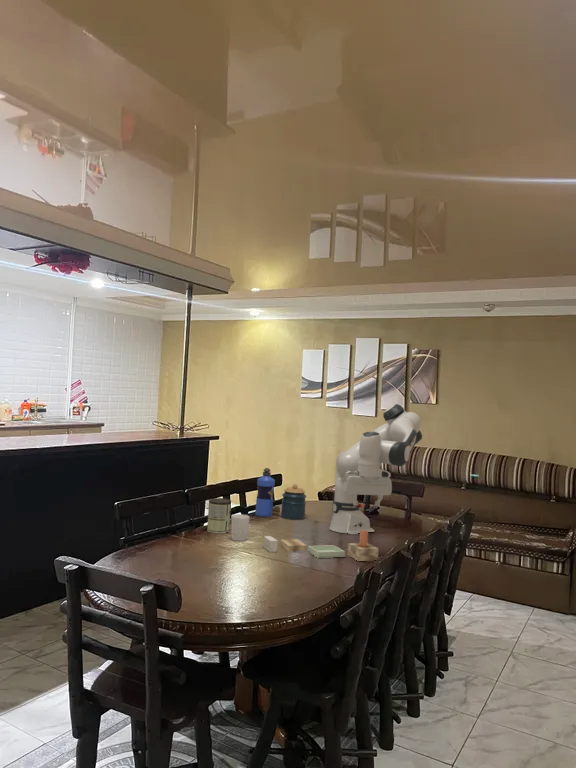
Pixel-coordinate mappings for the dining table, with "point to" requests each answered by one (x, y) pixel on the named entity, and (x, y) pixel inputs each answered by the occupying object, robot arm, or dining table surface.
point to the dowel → (363, 538)
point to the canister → (293, 503)
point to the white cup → (239, 527)
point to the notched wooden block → (293, 545)
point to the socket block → (362, 552)
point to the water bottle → (265, 494)
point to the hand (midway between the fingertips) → (366, 505)
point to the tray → (326, 551)
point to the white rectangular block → (270, 544)
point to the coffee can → (219, 515)
